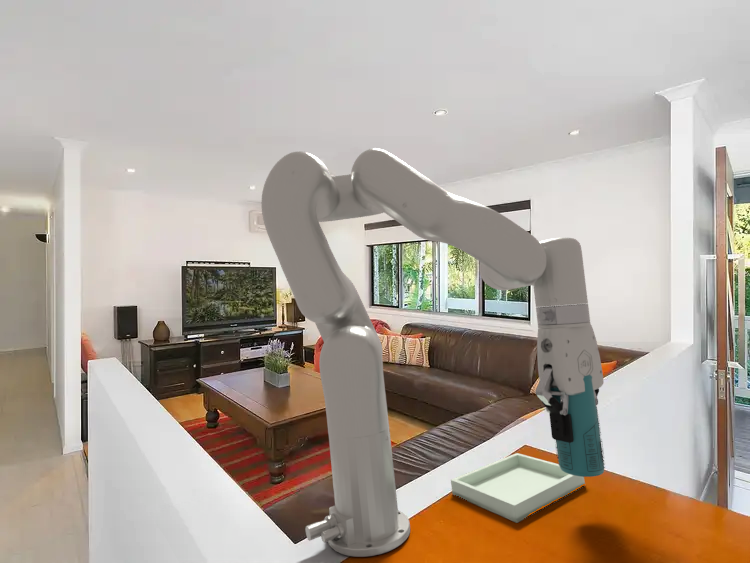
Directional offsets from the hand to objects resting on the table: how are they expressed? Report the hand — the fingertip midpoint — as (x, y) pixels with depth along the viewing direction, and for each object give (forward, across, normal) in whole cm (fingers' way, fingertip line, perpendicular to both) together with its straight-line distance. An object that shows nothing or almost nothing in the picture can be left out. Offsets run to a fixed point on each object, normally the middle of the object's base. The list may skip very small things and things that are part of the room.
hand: (576, 434), depth 62 cm
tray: (+12, 0, +12) cm, 17 cm away
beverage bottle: (+7, 0, 0) cm, 7 cm away
